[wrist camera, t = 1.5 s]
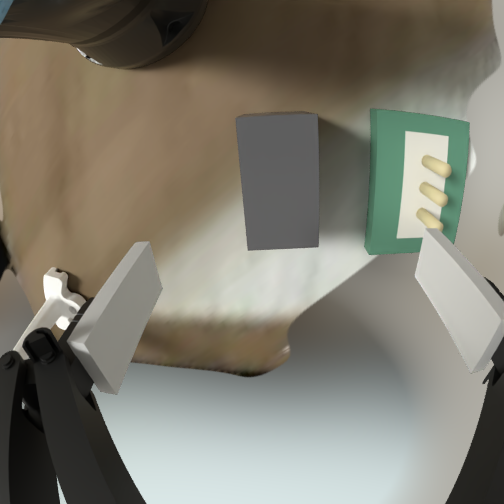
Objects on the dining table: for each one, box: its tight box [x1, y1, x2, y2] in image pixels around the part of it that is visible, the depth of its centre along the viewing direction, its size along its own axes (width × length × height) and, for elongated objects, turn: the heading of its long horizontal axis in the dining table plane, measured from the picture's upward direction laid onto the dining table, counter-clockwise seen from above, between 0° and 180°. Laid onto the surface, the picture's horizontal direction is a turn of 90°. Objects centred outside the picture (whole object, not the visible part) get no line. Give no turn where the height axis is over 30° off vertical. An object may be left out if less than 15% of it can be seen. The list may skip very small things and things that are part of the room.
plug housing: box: [236, 111, 319, 251], centre depth 26 cm, size 11×6×8 cm, turn 4°
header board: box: [364, 109, 470, 255], centre depth 26 cm, size 16×12×6 cm
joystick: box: [13, 267, 86, 360], centre depth 31 cm, size 11×8×20 cm
